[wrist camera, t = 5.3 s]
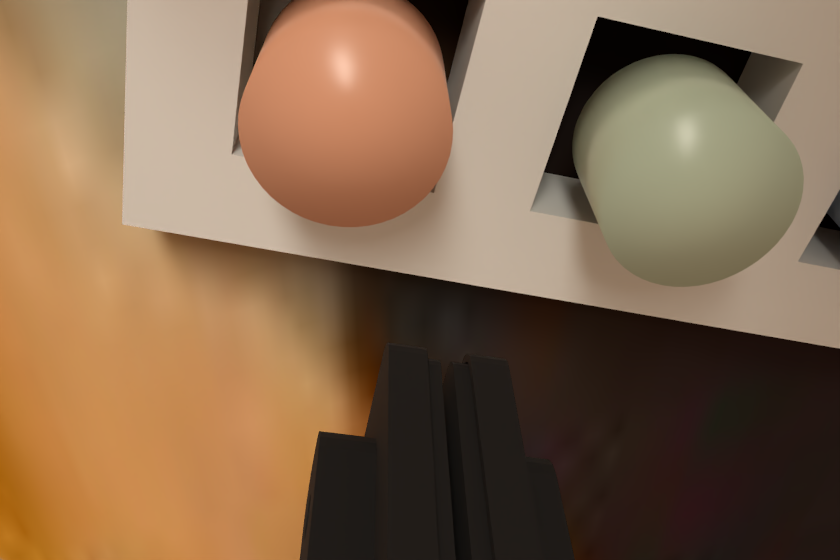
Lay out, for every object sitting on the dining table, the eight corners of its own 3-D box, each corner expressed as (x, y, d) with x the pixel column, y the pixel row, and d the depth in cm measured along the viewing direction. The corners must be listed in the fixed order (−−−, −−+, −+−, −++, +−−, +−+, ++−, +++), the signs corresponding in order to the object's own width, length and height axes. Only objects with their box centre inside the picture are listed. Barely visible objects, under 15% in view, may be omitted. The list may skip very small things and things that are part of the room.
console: (164, -240, 20) (133, -236, 18) (1161, 18, 25) (1247, 50, 22) (147, 178, 27) (122, 224, 24) (937, 322, 31) (984, 373, 29)
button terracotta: (273, -40, 20) (249, 5, 17) (463, 3, 21) (477, 54, 18) (252, 139, 23) (228, 207, 20) (421, 172, 24) (426, 242, 20)
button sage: (607, 36, 22) (645, 91, 18) (775, 74, 22) (842, 133, 19) (549, 196, 24) (574, 269, 21) (701, 226, 25) (748, 300, 22)
